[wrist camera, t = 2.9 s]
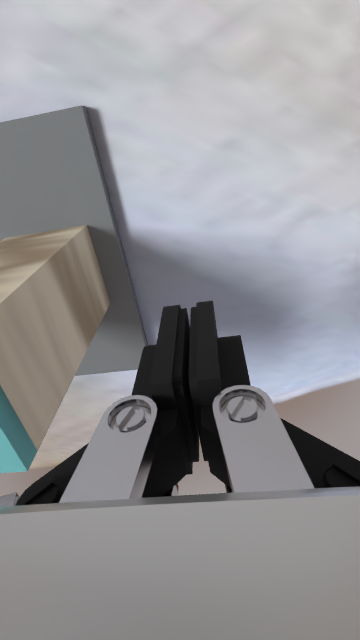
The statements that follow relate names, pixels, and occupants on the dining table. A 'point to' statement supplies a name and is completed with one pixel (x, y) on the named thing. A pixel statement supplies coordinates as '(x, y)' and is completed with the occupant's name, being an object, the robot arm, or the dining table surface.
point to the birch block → (43, 331)
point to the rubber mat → (71, 218)
